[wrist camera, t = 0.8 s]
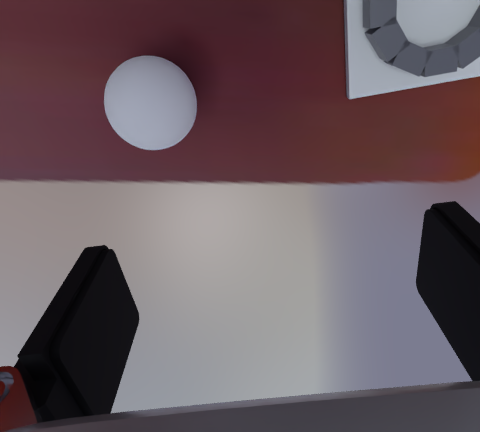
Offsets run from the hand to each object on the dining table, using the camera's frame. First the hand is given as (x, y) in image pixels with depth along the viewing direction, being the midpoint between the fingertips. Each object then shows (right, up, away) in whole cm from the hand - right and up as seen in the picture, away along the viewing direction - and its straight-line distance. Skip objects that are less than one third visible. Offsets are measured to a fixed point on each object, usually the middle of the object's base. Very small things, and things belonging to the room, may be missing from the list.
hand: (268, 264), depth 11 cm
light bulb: (-7, +14, +23) cm, 27 cm away
